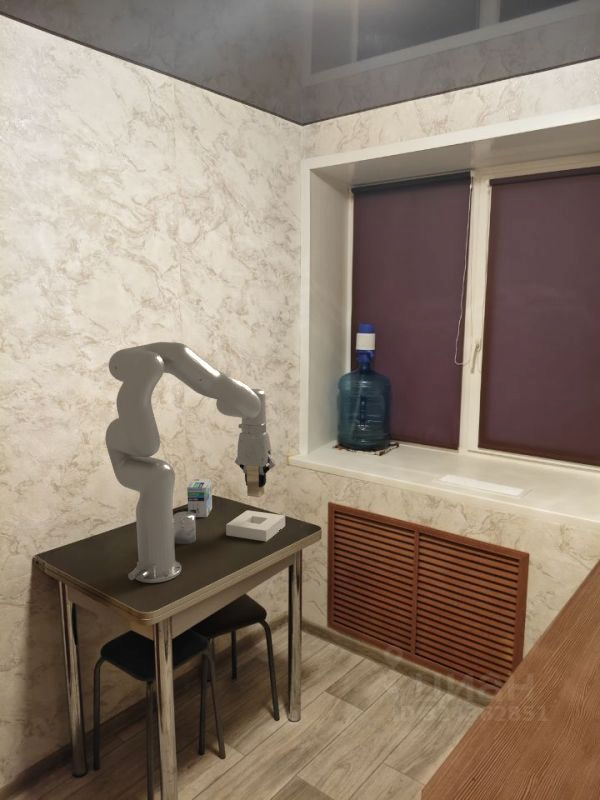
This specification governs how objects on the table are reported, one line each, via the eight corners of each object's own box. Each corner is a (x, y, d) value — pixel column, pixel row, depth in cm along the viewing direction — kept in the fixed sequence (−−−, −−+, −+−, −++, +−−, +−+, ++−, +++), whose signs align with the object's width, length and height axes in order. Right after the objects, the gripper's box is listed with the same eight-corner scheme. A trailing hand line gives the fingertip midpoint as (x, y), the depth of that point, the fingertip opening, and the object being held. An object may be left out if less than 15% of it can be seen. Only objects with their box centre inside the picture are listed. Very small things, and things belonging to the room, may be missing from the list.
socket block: (266, 541, 177) (266, 530, 177) (226, 535, 182) (226, 524, 182) (285, 525, 190) (285, 515, 189) (247, 520, 195) (247, 510, 195)
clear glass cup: (188, 545, 175) (187, 520, 174) (169, 542, 177) (168, 517, 176) (200, 537, 181) (199, 513, 180) (182, 534, 183) (181, 510, 182)
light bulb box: (207, 517, 198) (206, 487, 196) (187, 517, 198) (186, 487, 197) (212, 507, 209) (211, 478, 207) (194, 507, 209) (192, 478, 207)
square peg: (258, 497, 182) (257, 466, 180) (247, 495, 183) (246, 465, 182) (264, 493, 186) (263, 463, 184) (253, 492, 187) (252, 461, 186)
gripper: (224, 429, 181) (226, 485, 184) (273, 433, 174) (274, 491, 177) (236, 424, 188) (238, 479, 191) (283, 428, 181) (284, 484, 184)
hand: (255, 484), depth 184 cm, fingers closed on square peg, 4 cm apart
